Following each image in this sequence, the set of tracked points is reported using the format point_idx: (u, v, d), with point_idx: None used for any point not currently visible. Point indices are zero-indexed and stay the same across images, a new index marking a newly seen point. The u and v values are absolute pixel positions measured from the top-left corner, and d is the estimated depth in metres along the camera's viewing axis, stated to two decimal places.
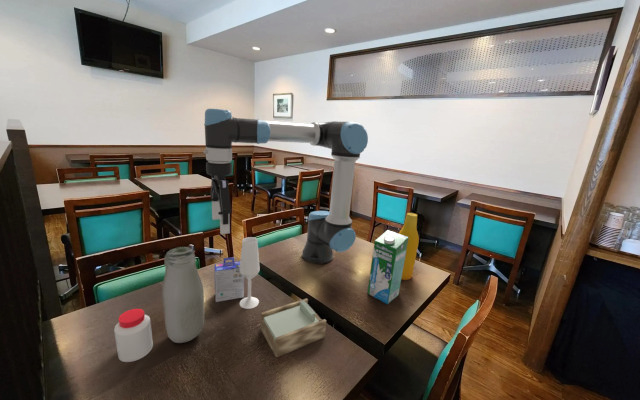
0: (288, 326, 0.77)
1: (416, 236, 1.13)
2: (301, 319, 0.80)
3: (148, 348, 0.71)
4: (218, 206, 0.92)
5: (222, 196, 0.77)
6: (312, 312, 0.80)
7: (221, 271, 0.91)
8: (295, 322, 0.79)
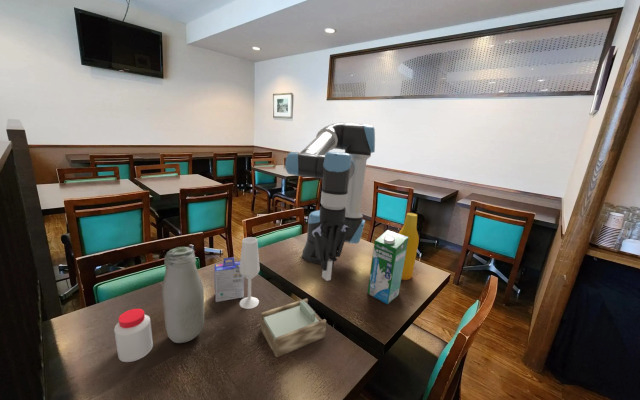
0: (288, 326, 0.77)
1: (416, 236, 1.13)
2: (301, 319, 0.80)
3: (148, 348, 0.71)
4: None
5: (314, 244, 0.78)
6: (312, 312, 0.80)
7: (221, 271, 0.91)
8: (295, 322, 0.79)
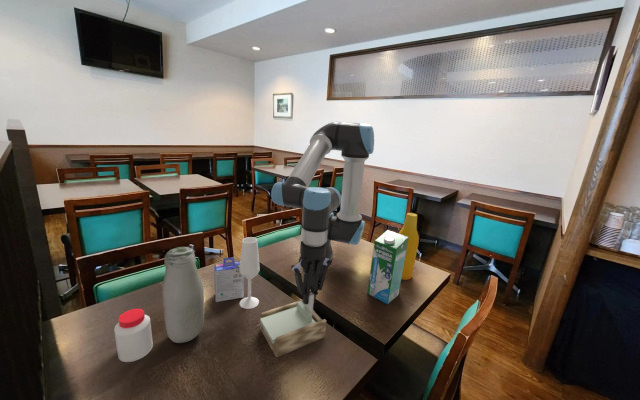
0: (285, 327, 0.76)
1: (416, 236, 1.13)
2: (297, 320, 0.80)
3: (148, 348, 0.71)
4: None
5: (295, 279, 0.78)
6: (309, 313, 0.79)
7: (221, 271, 0.91)
8: (292, 323, 0.78)
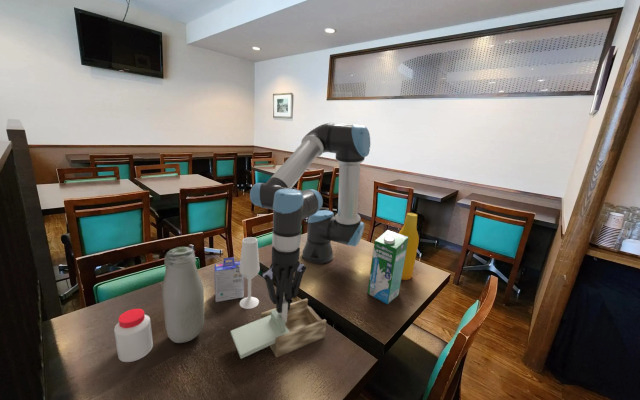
0: (255, 340, 0.72)
1: (416, 236, 1.13)
2: (270, 330, 0.75)
3: (148, 348, 0.71)
4: None
5: (267, 286, 0.73)
6: (282, 323, 0.74)
7: (221, 271, 0.91)
8: (264, 334, 0.73)
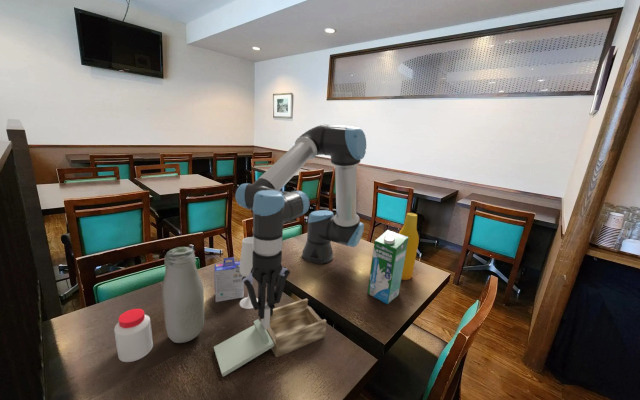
0: (238, 355, 0.70)
1: (416, 236, 1.13)
2: (254, 343, 0.73)
3: (148, 348, 0.71)
4: None
5: (248, 291, 0.70)
6: (264, 334, 0.72)
7: (221, 271, 0.91)
8: (246, 348, 0.71)
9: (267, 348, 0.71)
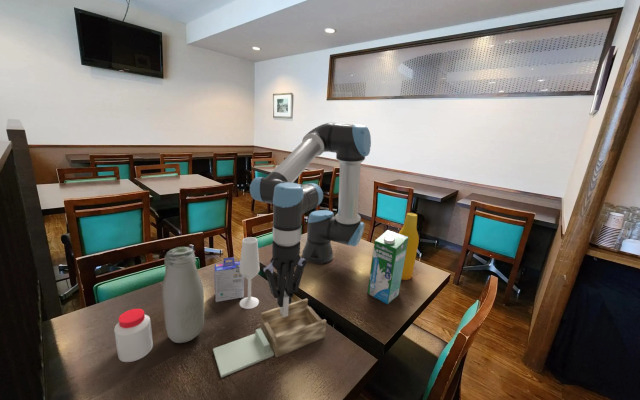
0: (238, 360, 0.70)
1: (416, 236, 1.13)
2: (254, 350, 0.73)
3: (148, 348, 0.71)
4: None
5: (268, 280, 0.73)
6: (266, 343, 0.73)
7: (221, 271, 0.91)
8: (247, 354, 0.72)
9: None
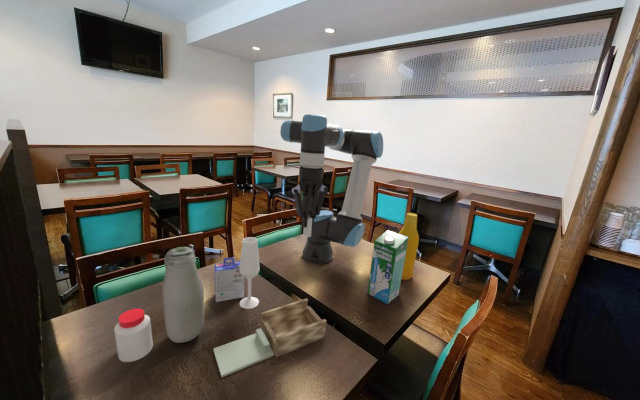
0: (238, 359, 0.70)
1: (416, 236, 1.13)
2: (254, 350, 0.73)
3: (148, 348, 0.71)
4: None
5: (295, 201, 0.85)
6: (266, 343, 0.73)
7: (221, 271, 0.91)
8: (247, 354, 0.72)
9: None
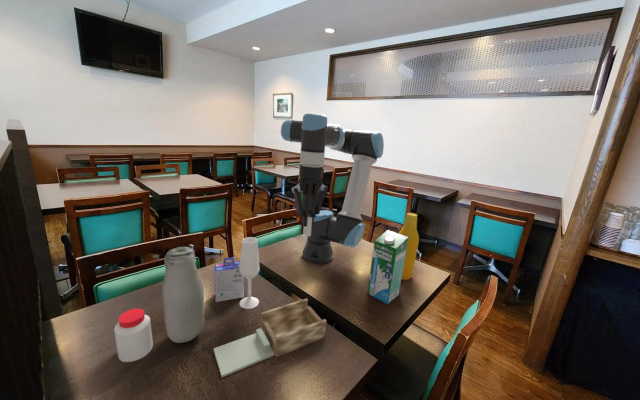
0: (238, 359, 0.70)
1: (416, 236, 1.13)
2: (254, 350, 0.73)
3: (148, 348, 0.71)
4: None
5: (295, 200, 0.85)
6: (266, 343, 0.73)
7: (221, 271, 0.91)
8: (247, 354, 0.72)
9: None
